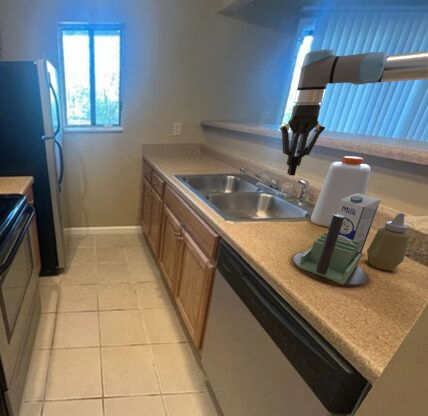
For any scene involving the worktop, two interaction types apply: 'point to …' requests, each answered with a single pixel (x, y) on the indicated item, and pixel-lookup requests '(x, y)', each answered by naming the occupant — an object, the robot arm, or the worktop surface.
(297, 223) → the worktop surface
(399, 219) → the squeeze bottle
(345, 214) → the milk carton
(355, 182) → the plastic bottle
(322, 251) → the dish rack
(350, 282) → the turntable
